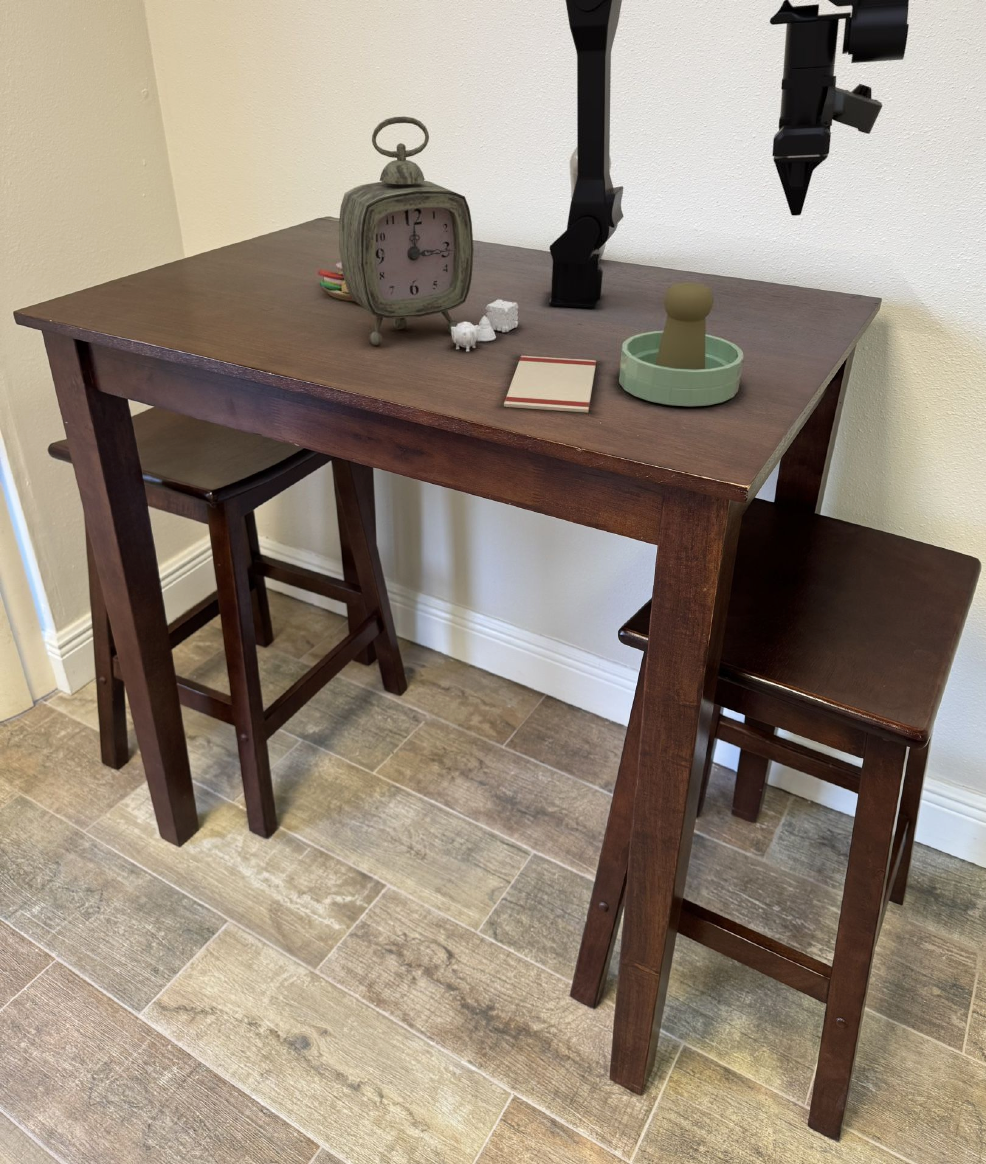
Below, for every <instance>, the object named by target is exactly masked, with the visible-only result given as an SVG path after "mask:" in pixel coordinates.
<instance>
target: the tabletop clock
mask: <svg viewBox="0 0 986 1164" xmlns="http://www.w3.org/2000/svg"><path fill="white" fill-rule="evenodd" d="M396 124H411V125H413V126H417V127H418V128H419V129H420V130H421V131H422V133H423V134H424V141H423V143H422V144H420V145H419V146H418V147H415V148H413V149H408V150H407V149H406V148H407V146H406V145H405V144H404V143H401V142H400V143H398V144H397V145H396V150H388V149H383V148H382V147H380V146H379V145H378V143H377V136H378V135H379V133H380V132H381V131H382V130H383V129H384V128H386V127H388V126H391V125H396ZM429 140H430V134H429V131H428V128H427V127H426V125H425V124H424V123H423V122H422V121H421V120H418V119H417V118H415V117H410V116H393V117H389V118H386V119H383V121H381V122H379V123H378V125H377V126H376V127H375V128H374V130H373V133H372V136H371V143H372V146H373V148H374V149H375V150H376V151H377V152H378V153H379V154H381V155H382V156H385V157H388V158H393V160H391V161H390V162H388V163H387V164H386V165H385V166H384V168H383V169H382V171H381V173H380V177H379V181H377V182H372V183H371V182H370V183H366V184H360V185H358V186H355V187H353V188H351V189H350V190H348V191H346V192H344V195H343V196H342V197H343V198H342V201H341V203H340V208H339V209H340V211H339V219H338V220H339V221H338V227H339V228H338V238H339V239H338V240H339V241H338V243H339V244H338V245H339V246H338V248H339V257H340V262H341V263H342V270H343V271H342V272H343V276H344V280H345V284H346V287H347V290H348V292H349V294H350V296H351V298H352V299H353V300H355V301H356V304H358V305H360V306H361V307H362V308H364V309H365V310H366V311H368V312H369V313H370V314H372V315H373V316H375V321H374V324H375V325H374V331H372V332H370V334H368V342H369V344H371V346H379V345H380V344H381V343H382V340H383V338H382V335H381V333H380V329H381V326H382V323H383V319H394V321H393V325H394V327H395V328H396V329H397V330H404V329H405V328H406V327H407V325H408V324H407V323H408V322H407V319H408V318H421V317H426V316H431V315H434V314H439V313H441V314H442V316H443V317H444V318H445V320H446V321H447V326H446V327H447V331H448V332H449V333H451V332H452V330H451V327H456V326H457V324H458V323H459V321H458V320H455V319H454V320H453V319H452V317H451V315H450V313H449V311H451V310H454V309H456V308H458V307H459V306H461V305H462V304H464V303H466V301H467V298H468V296H469V292H470V288H471V283H472V278H473V277H472V275H473V263H474V251H475V249H474V237H473V236H474V235H473V221H472V215H471V210H470V207H469V204H468V201H467V199H466V196H464V195H462V194H460V193H458V192H456V191H453V190H451V189H448V188H446V187H444V186H441V185H439V184H436V183H434V182H431V181H429V180H425V175H424V172H423V171H422V169H421V167H420V166H419V165H418V164H417V163H416V162H414V161H412V160H409V159H407V158H410V157H413V156H416V155H417V154H420V153H422V152H423V151H424V150H425V148H426V147H427V146H428V144H429ZM355 301H354V302H355Z"/></svg>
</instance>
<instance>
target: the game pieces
mask: <svg viewBox="0 0 986 1164" xmlns="http://www.w3.org/2000/svg"><path fill="white" fill-rule="evenodd" d="M519 307H520V306H519V304H518V303H517V302H516V301H514V302H513V301H507V300H503V299H496V300H495V301H493V302H490V303H487V305H486V307H485V311H486V314H484V315H483V316H482V317H481V318H480V319H479V321H478V324H476V325H474V324H473V323H471V322H470V321H461V322H458V324H457V326H456V327H451V330H452V332H450V334H451V339H452V342H453V343H454V344H455V346H456V347H455V350H460V347H462V348H465V349H466V350H465V352H470V351H471V350H470V347H471V348H472V349H476V348H477V347H476V343H477V342H491V341H495V340H496V338H497V335H496V334H495V331H498V332H501V333H508V332H509V331H511V330H512V329H514V328H517V327H518V324H519V321H518V319H519V317H518V315H519V314H518V313H519V310H518V309H519Z"/></svg>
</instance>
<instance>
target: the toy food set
mask: <svg viewBox="0 0 986 1164" xmlns="http://www.w3.org/2000/svg"><path fill="white" fill-rule="evenodd" d="M335 268H336V269H337V270H339V271H340V272H334V271H331V270H325V269H318V270H317V274H318V275H319V276H321V277H323V279H322V280H321V281H319V286H320V287H321V288H322V289H323V290H324V291H325V292H327V294H328V295H329V296H331V297H333V298H335V299H338V300H342V301H347V302H348V301H349V302H354V303H355V302H356V301H355V300H353V299H352V298H351V296H350V294H349V292H348V290H347V287H346V284H345V280H344V276H343V270H342V263H341V261H340V262H337V263H336V264H335ZM356 303H357V302H356Z"/></svg>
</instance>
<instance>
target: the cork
mask: <svg viewBox="0 0 986 1164" xmlns="http://www.w3.org/2000/svg"><path fill="white" fill-rule="evenodd" d="M713 307H714V295H713V293H712V290H711V288H709V287H708V286H707V285H705V284H702V283H697V282H689V281H688V282H686V281H685V282H677V283H674V284H672V285H670V286H669V287H668V289H667V290H666V291H665V294H664V297H663V308H664V311H665V313H666V320H665V324H664V328H663V330H662V331H663V335H662V339H661V343H660V347H659V351H658V355H657V359H656V363H655V365H657V366H662V367H668V368H674V369H688V370H700V369H705V338H706V334H707V333H706V331H707V330H706V328H707V327H706V325H707V323H706V320H707V319H706V318H707V317H708V316H709V315H710V313H711V311H712V309H713Z"/></svg>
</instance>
